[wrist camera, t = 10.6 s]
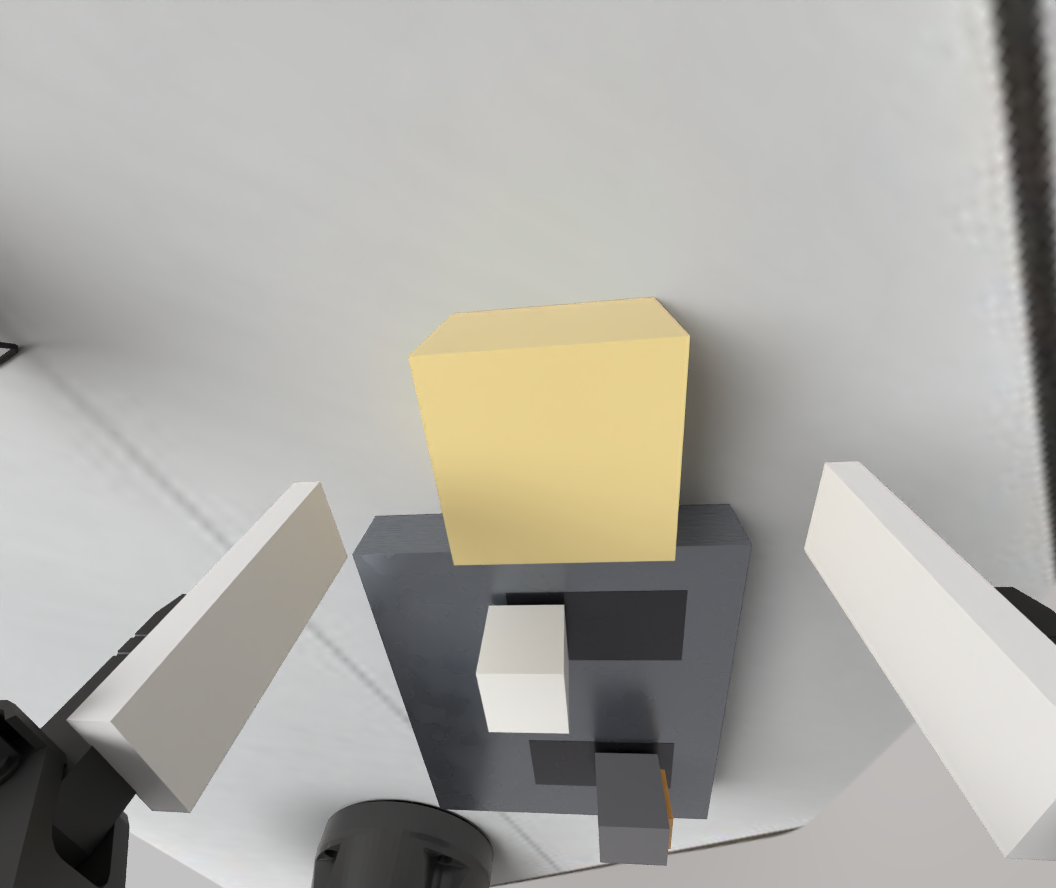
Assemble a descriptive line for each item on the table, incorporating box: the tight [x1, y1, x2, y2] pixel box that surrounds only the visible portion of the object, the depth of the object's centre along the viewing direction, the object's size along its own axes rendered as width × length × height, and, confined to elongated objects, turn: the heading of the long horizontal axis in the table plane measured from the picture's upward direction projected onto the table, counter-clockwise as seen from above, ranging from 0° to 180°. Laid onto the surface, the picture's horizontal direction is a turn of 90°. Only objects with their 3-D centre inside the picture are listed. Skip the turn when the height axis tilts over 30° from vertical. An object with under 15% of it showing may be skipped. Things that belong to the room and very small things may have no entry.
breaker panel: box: [352, 504, 751, 819], centre depth 27 cm, size 23×18×3 cm
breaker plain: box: [476, 605, 569, 734], centre depth 21 cm, size 4×4×4 cm
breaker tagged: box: [595, 753, 673, 866], centre depth 26 cm, size 4×4×4 cm
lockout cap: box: [408, 297, 690, 565], centre depth 18 cm, size 8×8×6 cm
